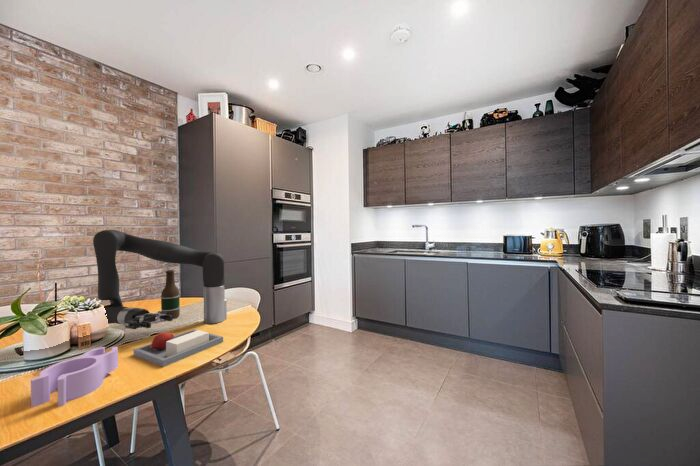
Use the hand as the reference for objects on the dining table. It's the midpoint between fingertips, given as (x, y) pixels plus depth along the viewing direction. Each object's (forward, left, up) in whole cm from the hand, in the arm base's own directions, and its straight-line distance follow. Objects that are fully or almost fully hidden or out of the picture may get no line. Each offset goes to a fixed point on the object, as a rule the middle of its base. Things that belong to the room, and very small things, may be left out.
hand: (161, 321), depth 110 cm
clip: (+27, +11, -9) cm, 31 cm away
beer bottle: (-20, -29, -9) cm, 37 cm away
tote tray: (+1, +14, -8) cm, 16 cm away
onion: (+1, +10, -3) cm, 11 cm away
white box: (+1, +18, -7) cm, 20 cm away
